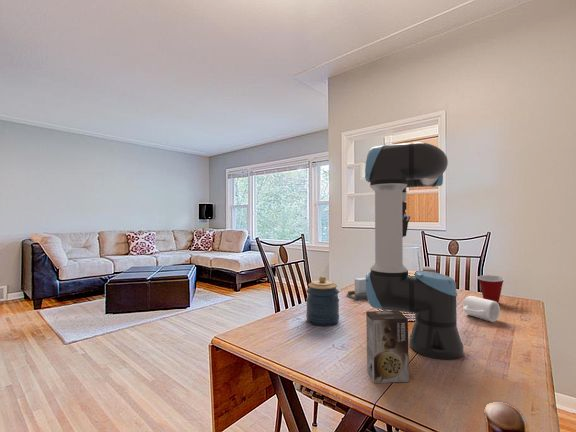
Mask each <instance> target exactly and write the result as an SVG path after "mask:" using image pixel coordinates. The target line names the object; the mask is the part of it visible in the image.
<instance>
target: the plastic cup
mask: <svg viewBox="0 0 576 432" xmlns="http://www.w3.org/2000/svg"><path fill="white" fill-rule="evenodd" d="M476 278H477V279H478V281H479V286H480V289H481V294H482V298H483V299H487V300H491V301H496V302H497V303H498V304H499V303H500V298H501V293H502V290H503V289H502V288H503V283H504V281H505V277H502V276H499V275H489V274H487V275H486V274H485V275H484V274H483V275H479V276H477V277H476Z"/></svg>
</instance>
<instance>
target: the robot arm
mask: <svg viewBox="0 0 576 432" xmlns="http://www.w3.org/2000/svg"><path fill="white" fill-rule="evenodd" d="M365 160H366V161H365V167H364V169H365V170H364V173H365V174H364V175H365V177H364V179H365V181H366V182H368V183H369V186H370V187H369V188H371V189H372V191H374V235H375V236H374V243H375V244H374V252H375V253H374V254H375V255H374V257H375V258H374V260H375V261H374V264H373V265H372V266H371V267H370V271H369V272H367V273H366V275H365V278H366V293H367V301H368V304H369V305H370V306H371V308H373V309H378V310H381V311H399V312H401V313H411V314H412V313H413V314H414V319H415V321H414V324H413V325H412V329H411V334H410V335H409V337H408V346H409V347H410V348H411V349H412V350H413V351H414V352H416V353H418V354H420V355H423V356H425V357H429V358H433V359H439V360H455V359H459V358H461V357H462V356H464V344H463V342H462V340H461V336H460V333H459V331H458V326H457V325H458V324H457V321H458V320H457V318H458V317H457V314H458V313H457V297H458V293H457V283H456V281H455V279H453V278H452V277H451V276H448V275H445V274H442V273H438V272H436V273H434V272H428V271H416V272H415V274H414V275H415V276H410V275H408V270H407V268H406V267H407V266H405V265H404V264H403V263H404V262H403V261H404V260H403V259H404V257H403V253H404V252H403V246H404V245H403V244H404V243H403V238H404V237H407V232H408V228H409V227H408V226H409V221H410V220H411V216H408V215H407V213H406V210H407V209H408V208H407V207H408V206H407V204H408V203H407V202H406V201H407V188H422V187H423V188H425V187H427V188H428V187H429V188H430V187H432V188H433V187H434V188H435V187H441V186H443V183H444V173H445V172H446V170H447V168H448V165H449V161H448V156H447V154H446V153H445V152H444V151H443V150H442V149H441V148H440V147H438V146H436V145H433V144H431V143H427V142H419V141H418V142H417V141H416V142H409V143H408V142H407V143H393V144H382V145H378V146H377V145H376V146H373V147H371V148H370V149H369V150H368V152H367V155H366V159H365Z"/></svg>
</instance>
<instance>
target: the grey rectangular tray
mask: <svg viewBox="0 0 576 432" xmlns="http://www.w3.org/2000/svg"><path fill="white" fill-rule="evenodd" d="M346 297H348V298H349V299H352V300H355V301H358V300H368V298H367V293H360V294H355V290H349V291H347V293H346Z"/></svg>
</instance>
